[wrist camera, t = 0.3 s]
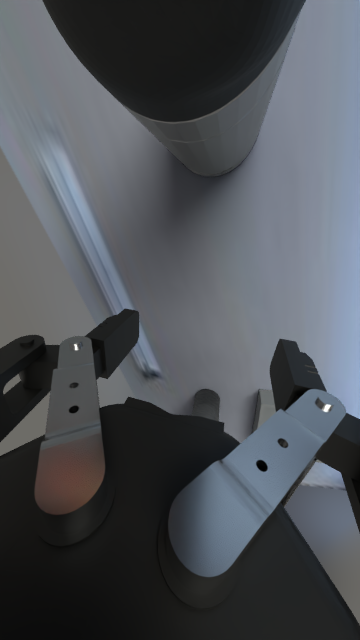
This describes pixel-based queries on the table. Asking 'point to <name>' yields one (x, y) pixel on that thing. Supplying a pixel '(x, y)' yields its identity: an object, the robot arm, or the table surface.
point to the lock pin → (206, 404)
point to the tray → (265, 409)
